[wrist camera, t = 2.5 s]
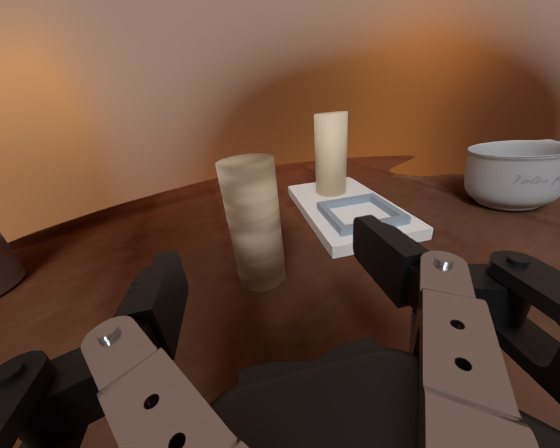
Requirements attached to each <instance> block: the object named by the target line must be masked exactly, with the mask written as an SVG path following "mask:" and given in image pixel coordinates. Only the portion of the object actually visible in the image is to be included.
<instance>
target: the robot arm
mask: <svg viewBox="0 0 560 448" xmlns="http://www.w3.org/2000/svg"><path fill="white" fill-rule="evenodd" d="M353 252H354V255H355V258H356V259H357V261H358V262H359V263H360V264H361V265H362V266H363V268H364V269H365V270H366V271H367V272H368V274H369V275H370V276H371V277H372V278H373V279H374V281H375V282H376V283H377V284H378V285H379V286H380V288H381V289H382V290H383V291H384V292H385V294H386V295H387V296H388V297H389V298H390V299H391V301H392V302H393V303H394V304H395V305H396V307H397V308H401V307H405V306H409V305H410V306H411V307H412V314H411V331H410V351H409V353H408V352H405V351H402V350H398V349H393V348H385V347H380V346H379V345H378V343H377V342H376V340H375V339H374V337H369V338H365V339H361V340H357V341H353V342H349V343H345V344H341V345H339V346H338V347H336V348H334V349H332V350H330V351H328V352H327V353H325V354H323V355H321V356H319V357H318V358H316V359H314V360H311V361H272V362H268V363H264V364H260V365H256V366H252V367H248V368H244V369H240V370H238V383H236V384H235V385H233V386H231V387H230V388H228V389H227V390H225V391H224V392H223V393H222V394H220V395H219V396H218V397H217V398H216V399H215V400H214V401H213V402H212V403H211V404H210V405H209V404H208V403H207V402H206V401H205V399H204V398H203V397H202V396H201V395H200V393H199V392H198V391H197V390H196V389H195V387H194V386H193V385H192V384H191V383H190V381H189V380H188V379H187V378H186V376H185V375H184V374H183V373H182V372H181V370H180V369H179V368H178V367H177V366H176V364H175V363H174V362H173V361H172V360H174V358H175V353H176V348H177V343H178V339H179V334H180V329H181V324H182V320H183V315H184V310H185V305H186V301H187V296H188V283H187V279H186V276H185V273H184V270H183V267H182V264H181V261H180V258H179V255H178V253H177V251H176V250H172V251H167V252H161V253H157V254H156V255H155V257H154V259H153V261H152V263H151V265H150V266H149V267H145V268H144V269H143V270H141V271H140V272H139V273H138V274H137V275H136V276H135V278H134V280H133V282H132V283H131V286H130V287H129V289H128V291H127V294H125V296H124V298H123V300H122V302H121V304H120V305H119V307H118V309H117V311H116V313H115V315H114V317H113V318H111V319H109V320H106V321H104V322H102V323H101V324H99V325H98V326H96V327H95V328H94V329H92V330H91V331H90V332H89V333H88V334H87V335H86V337H85V338H84V340H83V341H82V344H81V347H80V348H77V349H75V350H73V351H70V352H68V353H66V354H64V355H61V356H59V357H57V358H54V359H52V360H50V359H49V358H48V356H47V355H46V354H45V353H44V352H43V351H30V352H26V353H23V354H21V355H18V356H16V357H14V358H12V359H10V360H9V361H7V362H5V363H4V364H2V365H0V448H12V447H13V446H14V444H15V442H16V440H17V439H18V438H19V439H20V440H21V441H22V443H21V445H20V447H19V448H80V445H81V443H82V440H83V438H84V435H85V432H86V430H87V427H88V425H89V424H91V423H92V422H94V421H96V420H98V419H100V418H102V417H103V416H106V418H107V421H108V423H109V425H110V428H111V430H112V432H113V435H114V437H115V439H116V442H117V444H118V446H119V448H560V431H559V430H557V429H555V428H553V427H551V426H549V425H547V424H546V423H544V422H542V421H540V420H538V419H536V418H534V417H532V416H530V415H529V414H527V413H525V412H523V411H521V410H519V409H518V407H517V404H516V401H515V397H514V394H513V390H512V387H511V384H510V380H509V377H508V373H507V370H506V366H505V363H504V360H503V356H502V353H501V349H502V350H503V351H504V352H506V353H507V354H508V355H509V356H510V357H511V358H512V359H513V360H514V361H515V362H516V363H517V364H518V365H519V366H520V367H521V368H522V369H523V370H524V371H526V372H527V373H528V374H529V375H530V376H531V377H532V378H533V379H534V380H535V381H536V382H537V383H538V384H539V385H540V386H541V387H542V388H543V389H545V390H546V391H547V392H548V393H549V394H550V395H551V396H552V397H553V398H554V399H555V400H556V401H557V402H558V403H559V404H560V342H559V341H557V340H556V339H555V338H553V337H552V336H551V335H549V334H548V333H547V332H545V331H544V330H543V329H541V328H540V327H539V326H537V325H536V324H535V323H533V322H532V321H531V320H529V319H528V318H527V314H528V312H529V310H530V307H531V305H533V306H534V307H536V308H537V309H539V310H540V311H541V312H543V313H544V314H546V315H547V316H549V317H550V318H551V319H553V320H554V321H555V322H557V323H558V325H559V326H560V271H559V270H557V269H555V268H553V267H551V266H549V265H547V264H546V263H544V262H542V261H540V260H538V259H536V258H534V257H532V256H529V255H526V254H523V253H519V252H514V251H497V252H494V253H492V254H491V256H490V259H489V262H488V264H467V263H466V261H465V260H463V259H462V258H461V257H459V256H457V255H454V254H452V253H448V252H443V251H429V250H427V249H426V248H425V247H423V246H422V245H420V244H419V243H418V242H416V241H415V240H413V239H412V238H409V236H408V235H406V234H405V233H403V232H402V231H401V230H399V229H398V228H396V227H395V226H392V225H390V224H387V223H383V222H381V221H380V220H379V219H377V218H376V217H375V216H373V215H366V216H360V217H355V218H354V221H353ZM25 273H26V271H25V269H24V267H23V266H22V264H21V263H20V261H19V260H18V258H17V257H16V255H15V254H14V252H13V251H12V249H11V248H10V246H9V245H8V243H7V242H6V240H5V239H4V237H3V236H2V234H1V233H0V295H2V294H4V293H5V292H7V291H8V290H10V289H11V288H13V287H14V286H15V285H16V284H18V283H19V282H20V281H21V280H22V279H23V277H24V276H25ZM500 348H501V349H500Z"/></svg>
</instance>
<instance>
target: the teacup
mask: <svg viewBox="0 0 560 448" xmlns="http://www.w3.org/2000/svg"><path fill="white" fill-rule="evenodd" d="M467 152H468V156H467V162H466V168H465V176H464V187H465V190H466V192H467V193H468V195H470V196H471V197H472V198H474V199H475V201H476V202H477V203H479V204H481V205H483V206H485V207H489V208H493V209H498V210H505V211H527V210H533V209H536V208H538V207H540V206H542V205H545V204H548V203H550V202H553V201H554V200H556V199H558V198H559V197H560V141H554V140H550V139H545V140H544V139H543V140H510V141H497V142H489V143H481V144H476V145H473V146H471V147H469V148H468V149H467Z"/></svg>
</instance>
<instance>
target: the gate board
mask: <svg viewBox="0 0 560 448" xmlns="http://www.w3.org/2000/svg"><path fill="white" fill-rule="evenodd" d="M347 122H348V112H347V111H337V112H325V113H318V114H314V132H315V133H314V135H315V167H316V182H313V183H307V184H300V185H294V186H288V194H289V196H290V197H291V198H292V200H293V201H294V203H295V204H296V206H297V207H298V209H299V210H300V212H301V213H302V215H303V216H304V218H305V219H306V221H307V222H308V224H309V225H310V227H311V228H312V229H313V231H314V232H315V234H316V235H317V237H318V238H319V240H320V241H321V243H322V244H323V246H324V247H325V249H326V250H327V252H328V253H329V255H330V256H331V257H332V259H334V258H339V257H344V256H349V255H354V252H353V221H354V218H355V217H360V216H366V215H373V216H375V217H376V218H377V219H379V220H380V221H381V222H383V223H387V224H390V225H392V226H395V227H396V228H398V229H399V230H401V231H402V232H403V233H405V234H406V235H408V236H409V238H412V239H413V240H415V241H416V242H421V241H426V240H431V238H432V233H433V228H432V227H431V226H429V225H428V224H426V223H424V222H423V221H421V220H419V219H418V218H416V217H414V216H413V215H411V214H409V213H408V212H406V211H405V210H403V209H401V208H400V207H398V206H396V205H395V204H393V203H391V202H390V201H388V200H386V199H385V198H383V197H381V196H380V195H378V194H377V193H375V192H373V191H372V190H370V189H368V188H367V187H365V186H363V185H362V184H360V183H358V182H357V181H355V180H354V179H352V178H350V177H346V164H347Z"/></svg>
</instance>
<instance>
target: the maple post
mask: <svg viewBox="0 0 560 448" xmlns="http://www.w3.org/2000/svg"><path fill="white" fill-rule="evenodd" d="M215 165H216V170H217V174H218V179H219V184H220V189H221V193H222V198H223V203H224V208H225V212H226V217H227V222H228V227H229V231H230V236H231V241H232V246H233V250H234V255H235V260H236V265H237V269H238V274H239V279H240V283H241V285H242V286H243V287H244V288H245V289H247V290H249V291H253V292H265V291H269V290H272V289H275V288H276V287H278V286H279V285H281V284H282V283H283V281H284V280H285V278H286V269H285V259H284V250H283V240H282V231H281V221H280V212H279V202H278V193H277V183H276V173H275V164H274V156H273V155H270V154H260V153H257V154H244V155H237V156H232V157H229V158H225V159H222V160H220V161H218V162H216V164H215Z"/></svg>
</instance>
